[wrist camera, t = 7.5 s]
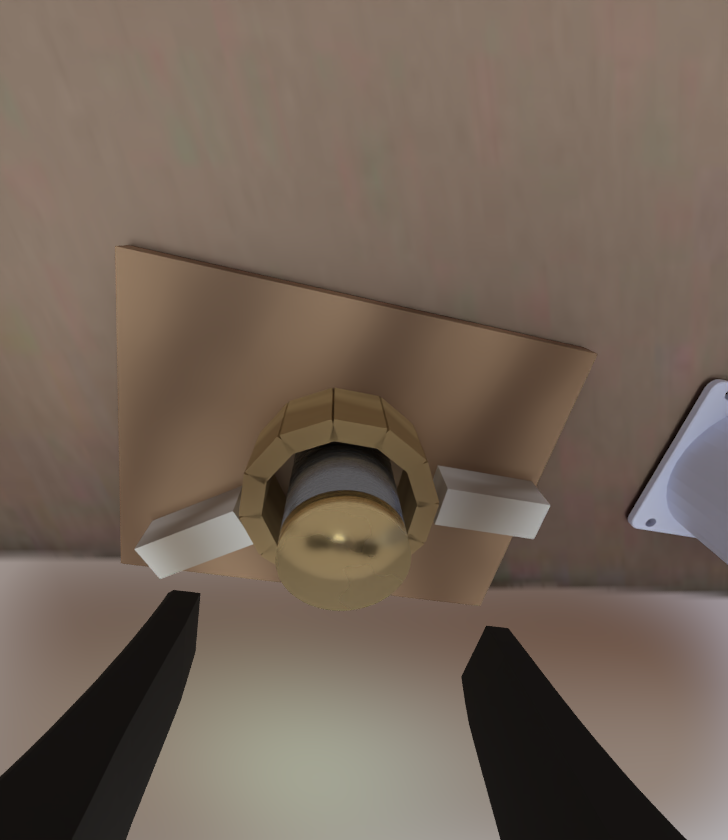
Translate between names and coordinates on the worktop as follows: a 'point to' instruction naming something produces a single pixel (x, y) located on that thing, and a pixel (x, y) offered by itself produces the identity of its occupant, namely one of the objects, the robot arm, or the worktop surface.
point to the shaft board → (302, 346)
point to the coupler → (342, 529)
